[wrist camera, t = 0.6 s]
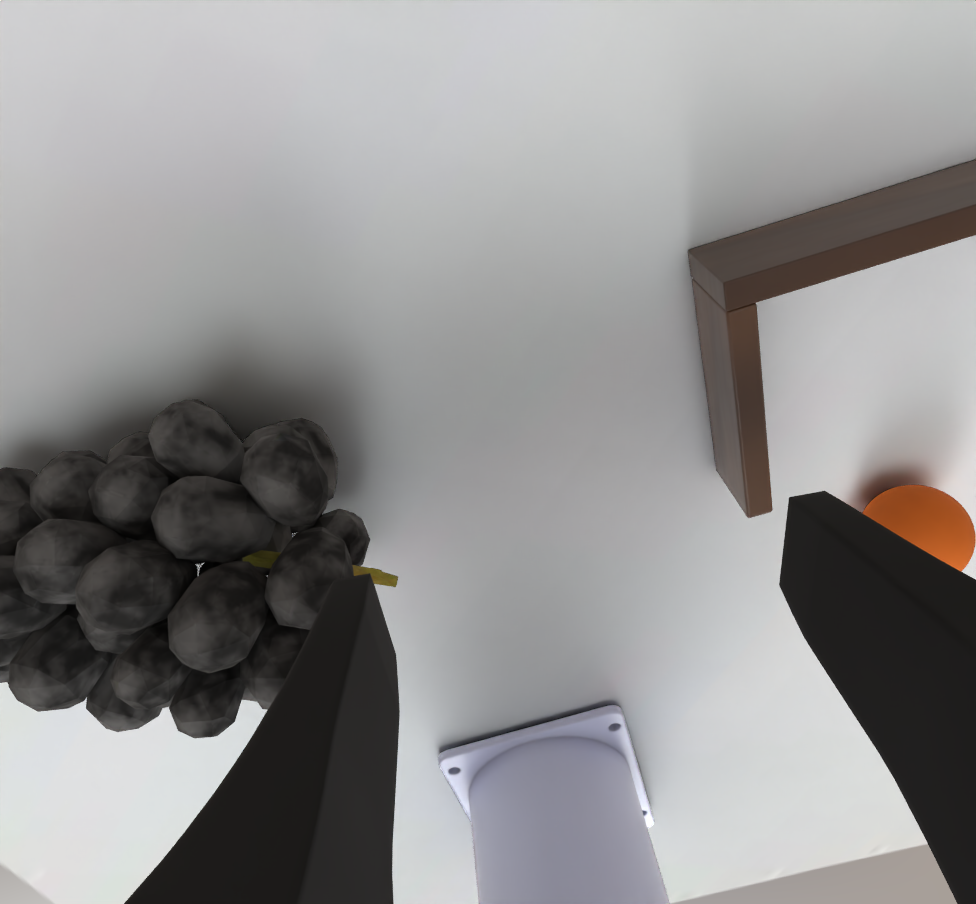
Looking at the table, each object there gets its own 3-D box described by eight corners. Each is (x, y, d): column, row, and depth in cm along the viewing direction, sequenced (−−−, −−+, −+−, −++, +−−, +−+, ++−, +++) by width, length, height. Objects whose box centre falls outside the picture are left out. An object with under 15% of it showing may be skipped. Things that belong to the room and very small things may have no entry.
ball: (930, 526, 26) (994, 591, 24) (838, 552, 27) (891, 619, 24) (936, 453, 25) (1007, 515, 22) (837, 481, 25) (895, 546, 22)
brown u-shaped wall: (1067, 368, 23) (1137, 407, 21) (715, 471, 24) (747, 519, 22) (1117, 114, 19) (1211, 131, 17) (686, 249, 20) (723, 282, 18)
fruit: (-270, 895, 16) (405, 772, 15) (-474, 549, 14) (305, 396, 13) (-14, 674, 24) (427, 591, 24) (-114, 438, 22) (369, 342, 22)
